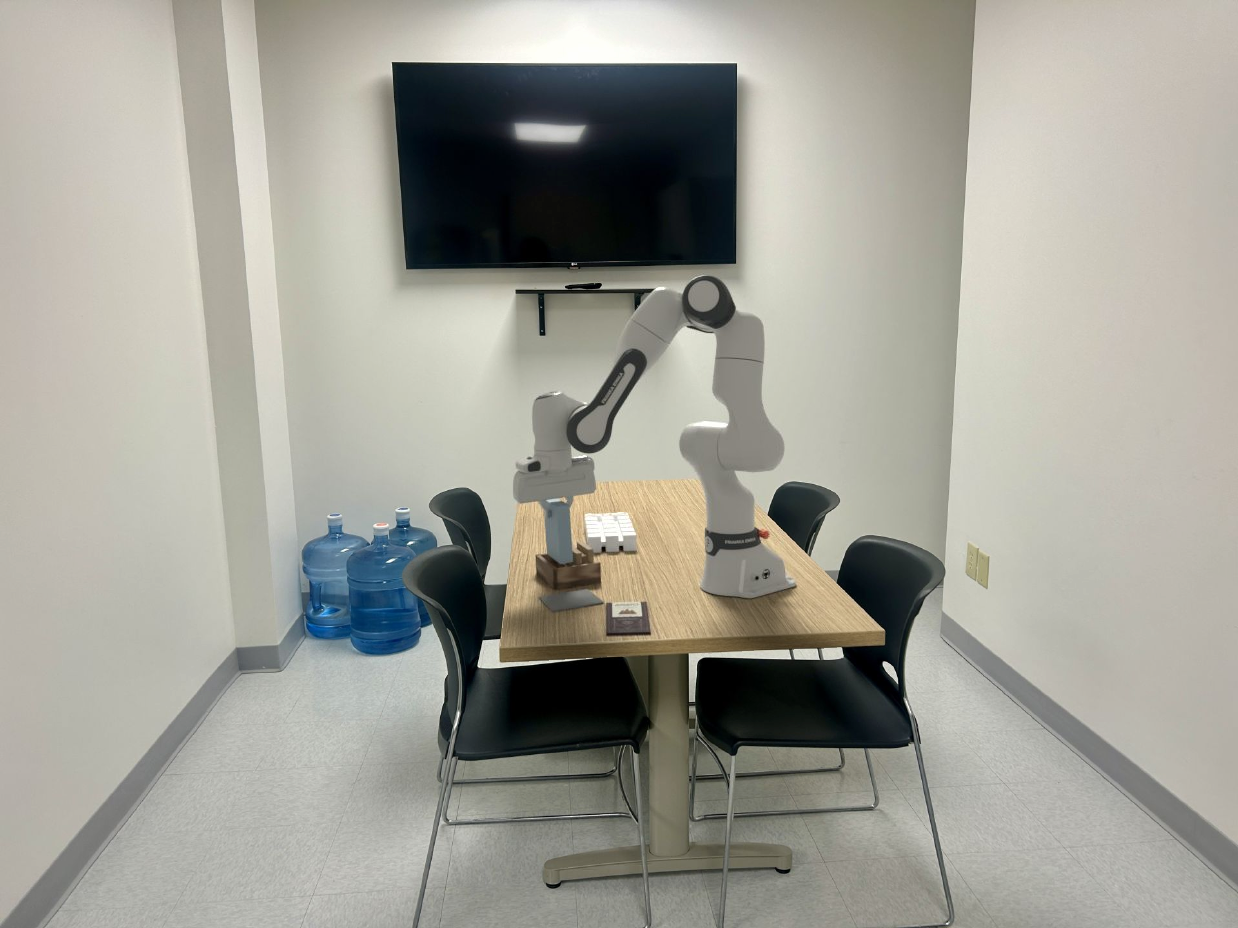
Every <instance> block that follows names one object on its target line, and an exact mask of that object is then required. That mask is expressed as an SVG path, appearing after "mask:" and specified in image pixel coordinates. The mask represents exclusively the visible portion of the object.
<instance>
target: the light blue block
mask: <svg viewBox="0 0 1238 928" xmlns="http://www.w3.org/2000/svg"><path fill="white" fill-rule="evenodd" d="M546 502H547V504H546V505H545V504H544V505H545V507H546V508H547V509H550V510H551V511H552V514H551V515H552V517H550V518H545V517H544V516H543V517H544V527H545V528H544V531H545V544H546V546H545V547H546V553H547V554H548V555H549V556H550V557H552V558H553V559H554V560H556V561H557V562H558V563H560V564H565V563H570V562H573V553H572V546H573V538H572V525H571V523H572V522H571V507H570V506H569V505H568V504H567V503H566V502H565V501H563V500H561V499H560V498H557V499H550V500H546Z"/></svg>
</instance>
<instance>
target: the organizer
mask: <svg viewBox="0 0 1238 928" xmlns="http://www.w3.org/2000/svg"><path fill="white" fill-rule="evenodd" d="M584 530H585V536H586V544H587V545H588V546H590V547H591V548H593V552H594V554H596V553H602V547H605V553H612V552H613V553H614V552H615V553H617V552H620V546H622V551H623V552H632V551H633V552H635V551H636V552H637V533H636V532H635V529H634V526H633V523H632V521H631V518H630V516H629V512H622V511H618V512H611V513H608V512H607V513H586V514H584Z"/></svg>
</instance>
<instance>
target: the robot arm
mask: <svg viewBox="0 0 1238 928" xmlns="http://www.w3.org/2000/svg"><path fill="white" fill-rule="evenodd" d="M685 327H686V328H688V329H691V330H695V331H698V332H702V333H705V334H714V335H715V340H716V346H715V347H716V348H715V356H714V357H715V358H714V367H713V374H712V375H713V376H712V387H711V390H712V394H713V396H714V398H715V399H716V400H717V401H718V402H719V403H721V404H722V405H724V406H725V407H726V409H727V413H728V421H720V420H701V421H695V422H691V423H689V424H687V425H686V426H685V427H684V428H683V430H682V432H681V434H680V436H679V440H678V441H679V442H678V443H679V444H678V445H679V452H680V455H681V456H682V458H683V460H684V461H685V462H686V463H688V464H689V465H690V467H692V469H693V470H694V472H695V473H696V475H697V476H698V477H697V478H698V479H699V481H700V484H701V485H702V489H703V493H704V498H705V499H704V500H705V511H706V512H705V513H706V527H705V528H704V551H705V560H704V567H703V572H702V577H701V581H700V584H699V587H700V588H701V590H702V591H704V592H707V593H710V594H713V595H717V596H725V597H737V598H738V597H739V598H743V599H754V598H757V597H762V596H766V595H768V594H772V593H776V592H780V591H784V590H787V589H789V588H793V587H796V580H795V578H793V577H792V576H791V575H789V574H788V573H786V567H785V563H784V560H783V558H782V557H781V556H780V555H779V554H778V553H777V552H775V551H773V550H772V549H771V548H769V547H768V546H766V545H765V544H764V543H762V540H761V538H762V539H763V540H768V539H769V537H770V531H768V530H766V529H759V528H758V527H756V526H755V505H756V504H755V502H756V501H755V497H754V494H753V493H752V491H751V490H750V489H749V488H748V487H747V486H745V485H744V484H743V483H742V482H741V481H740V480H739V479H738V476H737V474H736V472H743V473H753V474H754V473H764V472H770V471H774V470H775V469H776V468H777V467H778V466H779V465H780V464H781V462H782V460H783V458H784V455H785V441H784V438H783V436H782V434H781V433H780V431H779V430H778V429H777V428H776V427H775V426H774V425H773V424H772V423H771V421H770V420H769V418H768V415H767V414H766V411H765V408H764V404H763V403H764V402H763V398H762V397H763V395H762V391H763V376H764V374H763V373H764V364H765V363H764V362H765V347H766V346H765V330H764V324H763V322H762V320H761V318H759V317H758V316H757V315H756V314H752V313H750V312H744V311H739V310H737V305H736V304H735V302H734V299H733V295H732V293H731V292H730V290H729V288H728V287H727V285H726V283H724V282H723V281H722V280H721V279H719V278H718V277H716V276H714V275H709V274H704V275H699V276H696V277H694V278H692V279H691V280H690V281H689V282H688V283H687V284H686V285H685V287H684V289H683V292H682V293H681V292H678V291H677V290H675V289H674V288H673V289H672V288H670V287H668V286H660V287H657V288H655V289H653V290H652V291H651V292H650V293H649V294H648V295H647V296H646V297H645V298H644V299H643V301H642V302H641V303H640V304H639V306H638V307H637V308H636V309H635V311H634V312H633V314H632V315H631V316H630V318H629V319H628V321H627V322H626V324H625V326H624V328H623V329H622V332H621V334H620V336H619V338H618V341H617V343H616V347H615V356H614V360H613V363H612V367H611V369H610V372H609V373H608V376H607V377H606V379H605V380H604V382H603V383H602V385H601V386H600V388H599V389H598V391H597V392H596V393H595V396H594V397H593V399H592V400H591V402H587V401H586V402H585V401H583V400H580V399H577V398H574V397H573V396H570V395H569V394H567V393H566V392H565V391H562V390H556V391H555V390H554V391H549V392H546V393H543V394H540V395H538V396H537V397H536V399H534V400H533V403H532V410H531V413H532V414H531V419H532V420H531V421H532V424H531V425H532V433H533V435H534V445H533V451H534V452H533V453H531V454H529V455H527V456H524V457H523V458H520V459H518V460H517V461H515V468H516V470H517V471H516V472H515V473H514V475H513V483H512V486H513V487H512V493H513V495H512V496H513V497H512V498H513V499H514V500H515V501H516V502H517V503H519V504H521V505H523V504H528V503H529V504H530V503H534V502H537V503H538V505H539V506H540V508H541V509H542V510H543V517H545V518H550V517H552V515H551V514H552V511H551V510H550V509H547V508H546V507H545V505H546V504H547V502H546V500H550V499H563V498H564V499H565V500H566V502H565V503H567V504H568V505H569V506H570V508H571V507H572V505H573V503H574V501H575V500H574V499H575V498H574V497H577V496H583V495H584V496H585V495H592V494H595V492H596V490H597V482H596V481H597V480H596V477H595V473H594V472H595V460H594V459H593V458H592V457H589V455H591V454H595V453H598V452H600V451H602V450H603V449H604V448H605V447H606V446H607V445H608V444H609V442H610V440H611V437H612V432H613V427H614V426H613V425H614V421H615V418H616V417H617V414H618V413H619V412H620V410H621V408H622V406H623V405H624V404H625V402H626V401H627V398H628V397H629V395H630V394H631V392H632V390H633V389H634V387H635V386H636V384H637V383H638V382H639V381H640V380H641V378H642V377H644V375H646V373H647V372H649V370H650V369H651V368H652V367H653V366H654V365H655V364H656V363H657V362H658V360H659V359H660V358H661V357H662V355H663V354H664V353H665V352H666V350H667V349H668V348H669V346H670V344H672V341H673V340H674V338H675V337H676V335H677V334H678V332H680V331H681V330H683V328H685ZM572 448H573V449H575V451H578V452H580V453H583V454H589V455H583V456H573V457H572ZM544 504H545V505H544Z"/></svg>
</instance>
